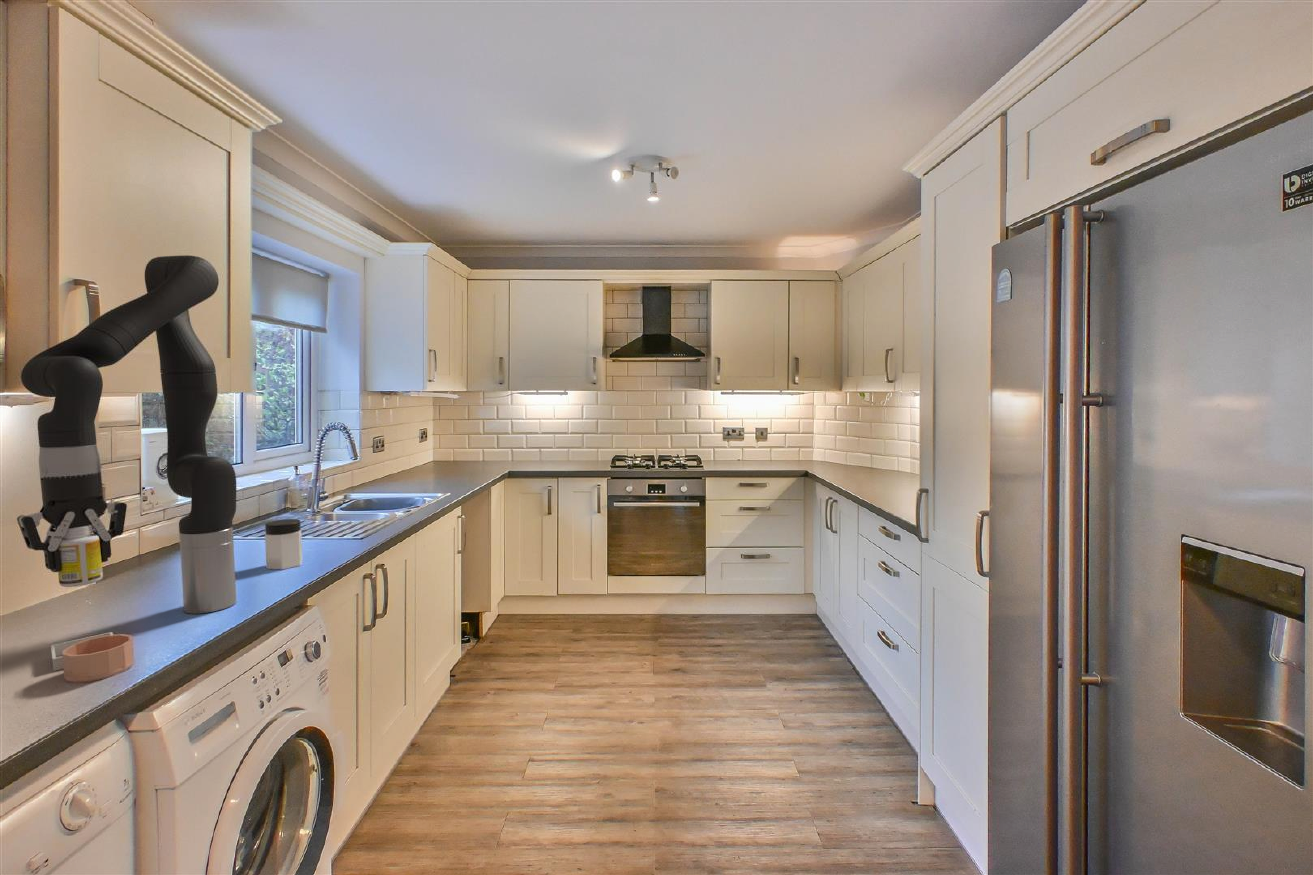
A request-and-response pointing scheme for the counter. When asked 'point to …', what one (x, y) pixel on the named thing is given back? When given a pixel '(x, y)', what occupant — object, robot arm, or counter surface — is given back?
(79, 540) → the supplement bottle
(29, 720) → the counter surface
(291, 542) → the jar
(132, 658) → the terracotta bowl
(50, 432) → the robot arm
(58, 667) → the tray
